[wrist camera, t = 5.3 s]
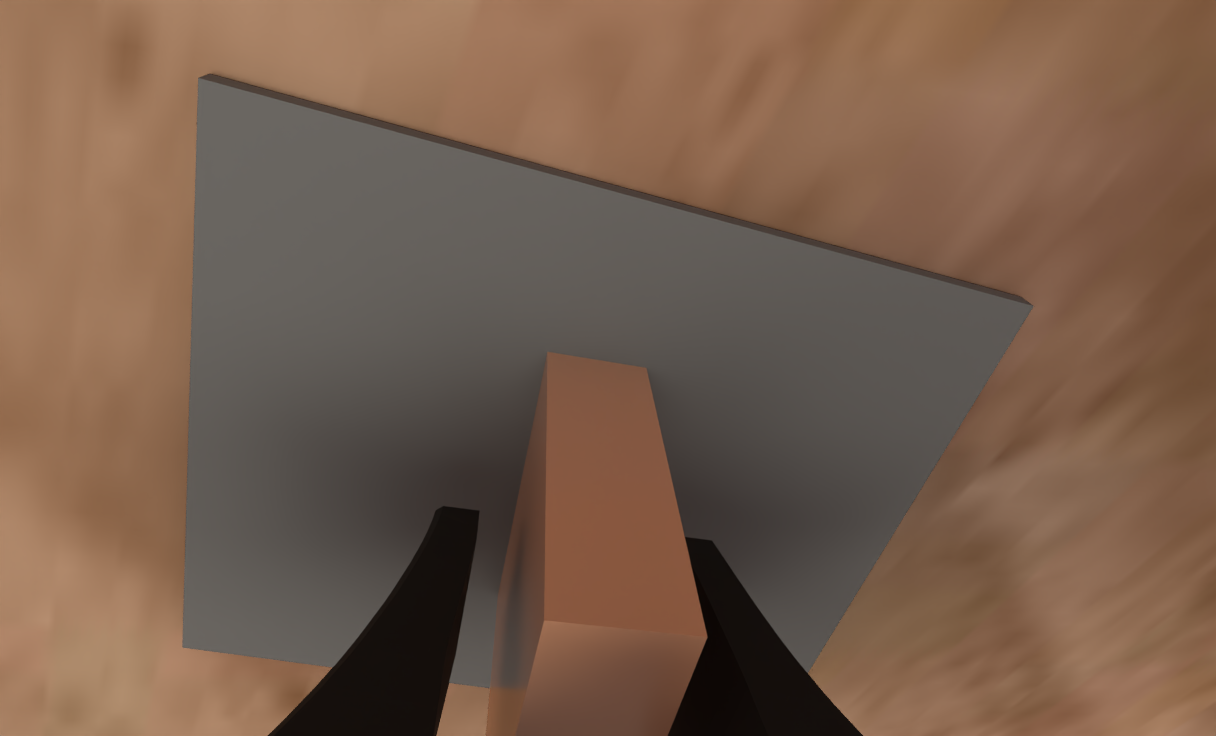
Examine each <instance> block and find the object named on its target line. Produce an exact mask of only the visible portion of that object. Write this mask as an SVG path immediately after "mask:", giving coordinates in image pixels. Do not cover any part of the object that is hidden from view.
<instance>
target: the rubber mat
mask: <svg viewBox="0 0 1216 736" xmlns="http://www.w3.org/2000/svg"><path fill="white" fill-rule="evenodd" d="M1032 308H1033V305H1031V304H1030V303H1029V302H1027V301H1026V300H1025V299H1023V298H1022V297H1019V296H1016V295H1012V294H1008V293H1005V292H1001V291H997V290H994V289H990V288H987V287H983V286H979V285H976V284H972V283H968V282H965V281H961V280H957V279H954V278H950V277H947V276H943V275H939V274H936V273H932V272H928V271H925V270H921V269H917V268H914V267H910V266H907V265H903V264H899V263H896V262H892V261H888V260H885V259H881V258H877V257H874V256H870V255H867V254H863V253H859V252H856V251H852V250H848V249H845V248H841V247H837V246H834V245H830V244H827V243H823V242H819V241H816V240H812V239H808V238H805V237H801V236H797V235H794V234H790V233H787V232H783V231H779V230H776V229H772V228H768V227H765V226H761V225H757V224H754V223H750V222H747V221H743V220H739V219H736V218H732V217H728V216H725V215H721V214H717V213H714V212H710V211H707V210H703V209H699V208H696V207H692V206H688V205H685V204H681V203H677V202H674V201H670V200H667V199H663V198H659V197H656V196H652V195H648V194H645V193H641V192H637V191H634V190H630V189H627V188H623V187H619V186H616V185H612V184H608V183H605V182H601V181H597V180H594V179H590V178H587V177H583V176H579V175H576V174H572V173H568V172H565V171H561V170H557V169H554V168H550V167H547V166H543V165H539V164H536V163H532V162H528V161H525V160H521V159H517V158H514V157H510V156H507V155H503V154H499V153H496V152H492V151H488V150H485V149H481V148H477V147H474V146H470V145H467V144H463V143H459V142H456V141H452V140H448V139H445V138H441V137H437V136H434V135H430V134H427V133H423V132H419V131H416V130H412V129H408V128H405V127H401V126H397V125H394V124H390V123H387V122H383V121H379V120H376V119H372V118H368V117H365V116H361V115H357V114H354V113H350V112H347V111H343V110H339V109H336V108H332V107H328V106H325V105H321V104H317V103H314V102H310V101H307V100H303V99H299V98H296V97H292V96H288V95H285V94H281V93H277V92H274V91H270V90H267V89H263V88H259V87H256V86H252V85H248V84H245V83H241V82H237V81H234V80H230V79H227V78H223V77H219V76H216V75H212V74H208V75H205V76H202V77H199V78H198V107H197V143H196V179H195V215H194V251H193V287H192V323H191V360H190V396H189V432H188V468H187V504H186V540H185V576H184V612H183V648H190V649H198V650H205V651H213V652H220V653H228V654H235V655H243V656H251V657H258V658H266V659H273V660H281V661H288V662H296V663H303V664H311V665H319V666H326V667H334V666H335V664H336V663H337V662H338V661H339V660H340V659H341V657H342V656H343V655H344V654H345V653H346V651H347V650H348V649H349V648H350V646H351V645H352V644H353V643H354V642H355V640H356V639H357V638H358V637H359V635H360V634H361V633H362V631H363V630H364V629H365V627H366V626H367V625H368V623H369V622H370V621H371V619H372V618H373V617H374V615H375V614H376V613H377V611H378V610H379V609H380V607H381V606H382V605H383V603H384V602H385V600H386V599H387V598H388V596H389V595H390V593H391V592H392V590H393V589H394V587H395V586H396V584H397V582H398V581H399V579H400V578H401V576H402V575H403V573H404V572H405V570H406V569H407V567H408V565H409V564H410V562H411V561H412V559H413V557H414V555H415V554H416V552H417V550H418V548H419V547H420V545H421V543H422V541H423V539H424V537H425V535H426V533H427V531H428V529H429V526H430V524H431V522H432V519H433V516H434V513H435V510H437V509H439V508H440V507H442V506H448V507H456V508H464V509H471V510H479V511H480V512H479V522H478V531H477V540H476V546H475V551H474V557H473V562H472V568H471V573H470V579H469V584H468V590H467V595H466V601H465V606H464V612H463V617H462V623H461V628H460V634H459V639H458V645H457V650H456V656H455V660H454V664H453V668H452V672H451V677H450V681H449V683H454V684H462V685H469V686H477V687H485V688H490V681H491V670H492V658H493V646H494V635H495V623H496V611H497V599H498V592H499V587H500V582H501V577H502V573H503V568H504V563H505V558H506V553H507V548H508V543H509V538H510V533H511V528H512V524H513V519H514V514H515V509H516V504H517V499H518V494H519V489H520V484H521V479H522V474H523V470H524V465H525V460H526V455H527V450H528V445H529V440H530V435H531V430H532V425H533V421H534V416H535V411H536V406H537V401H538V396H539V391H540V386H541V381H542V376H543V372H544V367H545V362H546V357H547V352H552V353H558V354H564V355H570V356H577V357H583V358H589V359H595V360H601V361H607V362H613V363H620V364H626V365H632V366H638V367H644V368H647V373H648V377H649V382H650V386H651V390H652V395H653V399H654V404H655V408H656V412H657V417H658V421H659V426H660V430H661V434H662V439H663V443H664V448H665V452H666V457H667V461H668V465H669V470H670V474H671V479H672V483H673V487H674V492H675V496H676V501H677V505H678V509H679V514H680V518H681V523H682V527H683V531H684V536H685V537H690V538H698V539H705V540H712V541H713V543H714V544H715V546H716V547H717V548H718V550H719V551H720V553H721V554H722V556H723V557H724V559H725V560H726V562H727V563H728V565H729V566H730V568H731V569H732V571H733V572H734V574H735V575H736V576H737V578H738V579H739V581H740V582H741V584H742V585H743V587H744V588H745V590H746V591H747V593H748V594H749V596H750V597H751V598H752V600H753V601H754V603H755V604H756V606H757V607H758V609H759V610H760V611H761V613H762V614H763V616H764V617H765V618H766V620H767V621H768V623H769V624H770V625H771V627H772V628H773V629H774V631H775V632H776V633H777V635H778V636H779V638H780V639H781V640H782V642H783V643H784V644H785V646H786V647H787V648H788V649H789V651H790V652H791V653H792V655H793V656H794V657H795V658H796V660H797V661H798V662H799V663H800V665H801V666H802V667H803V668H804V670H805V671H806V672H807V673H808V672H809V670H810V669H811V667H812V665H813V664H814V662H815V660H816V659H817V657H818V656H819V654H820V652H821V651H822V649H823V647H824V646H825V644H826V643H827V641H828V639H829V638H830V636H831V634H832V633H833V631H834V630H835V628H836V626H837V625H838V623H839V621H840V620H841V618H842V617H843V615H844V613H845V612H846V610H847V608H848V607H849V605H850V604H851V602H852V600H853V599H854V597H855V595H856V594H857V592H858V591H859V589H860V587H861V586H862V584H863V582H864V581H865V579H866V578H867V576H868V574H869V573H870V571H871V569H872V568H873V566H874V565H875V563H876V561H877V560H878V558H879V556H880V555H881V553H882V552H883V550H884V548H885V547H886V545H887V543H888V542H889V540H890V539H891V537H892V535H893V534H894V532H895V530H896V529H897V527H898V526H899V524H900V522H901V521H902V519H903V517H904V516H905V514H906V513H907V511H908V509H909V508H910V506H911V504H912V503H913V501H914V500H915V498H916V496H917V495H918V493H919V491H920V490H921V488H922V487H923V485H924V483H925V482H926V480H927V478H928V477H929V475H930V474H931V472H932V470H933V469H934V467H935V465H936V464H937V462H938V461H939V459H940V457H941V456H942V454H943V452H944V451H945V449H946V448H947V446H948V444H949V443H950V441H951V439H952V438H953V436H954V435H955V433H956V431H957V430H958V428H959V427H960V425H961V423H962V422H963V420H964V418H965V417H966V415H967V414H968V412H969V410H970V409H971V407H972V405H973V404H974V402H975V401H976V399H977V397H978V396H979V394H980V392H981V391H982V389H983V388H984V386H985V384H986V383H987V381H988V379H989V378H990V376H991V375H992V373H993V371H994V370H995V368H996V366H997V365H998V363H999V362H1000V360H1001V358H1002V357H1003V355H1004V353H1005V352H1006V350H1007V349H1008V347H1009V345H1010V344H1011V342H1012V340H1013V339H1014V337H1015V336H1016V334H1017V332H1018V331H1019V329H1020V327H1021V326H1022V324H1023V323H1024V321H1025V319H1026V318H1027V316H1028V314H1029V313H1030V311H1031V310H1032Z"/></svg>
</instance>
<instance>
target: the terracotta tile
mask: <svg viewBox="0 0 1216 736" xmlns="http://www.w3.org/2000/svg"><path fill="white" fill-rule="evenodd" d="M706 640H707V633H706V629H705V624H704V620H703V615H702V611H701V606H700V602H699V598H698V593H697V589H696V584H695V580H694V576H693V571H692V567H691V562H690V558H689V554H688V549H687V545H686V540H685V536H684V531H683V527H682V523H681V518H680V514H679V509H678V505H677V501H676V496H675V492H674V487H673V483H672V479H671V474H670V470H669V465H668V461H667V457H666V452H665V448H664V443H663V439H662V434H661V430H660V426H659V421H658V417H657V412H656V408H655V404H654V399H653V395H652V390H651V386H650V382H649V377H648V373H647V368H644V367H638V366H632V365H626V364H620V363H613V362H607V361H601V360H595V359H589V358H583V357H577V356H570V355H564V354H558V353H552V352H547V357H546V362H545V367H544V372H543V376H542V381H541V386H540V391H539V396H538V401H537V406H536V411H535V416H534V421H533V425H532V430H531V435H530V440H529V445H528V450H527V455H526V460H525V465H524V470H523V474H522V479H521V484H520V489H519V494H518V499H517V504H516V509H515V514H514V519H513V524H512V528H511V533H510V538H509V543H508V548H507V553H506V558H505V563H504V568H503V573H502V577H501V582H500V587H499V592H498V599H497V611H496V623H495V635H494V646H493V658H492V670H491V681H490V693H489V705H488V716H487V728H486V736H668V733H669V731H670V728H671V726H672V724H673V721H674V719H675V716H676V714H677V711H678V709H679V706H680V704H681V701H682V699H683V696H684V694H685V691H686V689H687V686H688V684H689V682H690V679H691V677H692V674H693V672H694V669H695V667H696V664H697V662H698V659H699V657H700V654H701V652H702V649H703V647H704V644H705V642H706Z"/></svg>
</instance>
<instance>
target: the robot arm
mask: <svg viewBox="0 0 1216 736" xmlns="http://www.w3.org/2000/svg"><path fill="white" fill-rule="evenodd" d="M479 512H480V511H479V510H471V509H464V508H456V507H448V506H442V507H440V508H439V509H437V510H435V513H434V516H433V519H432V522H431V524H430V526H429V529H428V531H427V533H426V535H425V537H424V539H423V541H422V543H421V545H420V547H419V548H418V550H417V552H416V554H415V555H414V557H413V559H412V561H411V562H410V564H409V565H408V567H407V569H406V570H405V572H404V573H403V575H402V576H401V578H400V579H399V581H398V582H397V584H396V586H395V587H394V589H393V590H392V592H391V593H390V595H389V596H388V598H387V599H386V600H385V602H384V603H383V605H382V606H381V607H380V609H379V610H378V611H377V613H376V614H375V615H374V617H373V618H372V619H371V621H370V622H369V623H368V625H367V626H366V627H365V629H364V630H363V631H362V633H361V634H360V635H359V637H358V638H357V639H356V640H355V642H354V643H353V644H352V645H351V646H350V648H349V649H348V650H347V651H346V653H345V654H344V655H343V656H342V657H341V659H340V660H339V661H338V662H337V663H336V664H335V666H334V667H333V668H332V669H331V670H330V671H329V672H328V673H327V675H326V676H325V677H324V678H323V679H322V680H321V681H320V683H319V684H318V685H317V686H316V687H315V688H314V689H313V690H312V691H311V692H310V693H309V694H308V695H307V696H306V697H305V698H304V699H303V701H302V702H301V703H300V704H299V705H298V706H297V707H296V708H295V709H294V710H293V711H292V712H291V713H290V714H289V715H288V716H287V717H286V718H285V719H284V720H283V721H282V722H281V723H280V724H279V725H278V726H277V727H276V728H275V729H274V730H273V731H272V732H271V733H270V734H269V735H268V736H436V735H437V730H438V726H439V722H440V718H441V714H442V710H443V706H444V702H445V697H446V693H447V689H448V685H449V681H450V677H451V672H452V668H453V664H454V660H455V656H456V650H457V645H458V639H459V634H460V628H461V623H462V617H463V612H464V606H465V601H466V595H467V590H468V584H469V579H470V573H471V568H472V562H473V557H474V551H475V546H476V540H477V531H478V522H479ZM685 540H686V545H687V549H688V554H689V558H690V562H691V567H692V571H693V576H694V580H695V584H696V589H697V593H698V598H699V602H700V606H701V611H702V615H703V620H704V624H705V629H706V633H707V640H706V642H705V644H704V647H703V649H702V652H701V654H700V657H699V659H698V662H697V664H696V667H695V669H694V672H693V674H692V677H691V679H690V682H689V684H688V686H687V689H686V691H685V694H684V696H683V699H682V701H681V704H680V706H679V709H678V711H677V714H676V716H675V719H674V721H673V724H672V726H671V728H670V731H669V733H668V736H863V735H862V734H861V733H860V732H859V731H858V730H857V729H856V728H855V727H854V725H853V724H852V723H851V722H850V721H849V720H848V719H847V718H846V717H845V716H844V715H843V714H842V713H841V712H840V710H839V709H838V708H837V707H836V706H835V705H834V704H833V703H832V702H831V701H830V699H829V698H828V697H827V696H826V695H825V694H824V693H823V691H822V690H821V689H820V688H819V687H818V685H817V684H816V683H815V682H814V681H813V679H812V678H811V677H810V676H809V674H808V673H807V672H806V671H805V670H804V668H803V667H802V666H801V665H800V663H799V662H798V661H797V660H796V658H795V657H794V656H793V655H792V653H791V652H790V651H789V649H788V648H787V647H786V646H785V644H784V643H783V642H782V640H781V639H780V638H779V636H778V635H777V633H776V632H775V631H774V629H773V628H772V627H771V625H770V624H769V623H768V621H767V620H766V618H765V617H764V616H763V614H762V613H761V611H760V610H759V609H758V607H757V606H756V604H755V603H754V601H753V600H752V598H751V597H750V596H749V594H748V593H747V591H746V590H745V588H744V587H743V585H742V584H741V582H740V581H739V579H738V578H737V576H736V575H735V574H734V572H733V571H732V569H731V568H730V566H729V565H728V563H727V562H726V560H725V559H724V557H723V556H722V554H721V553H720V551H719V550H718V548H717V547H716V546H715V544H714V543H713V541H712V540H705V539H698V538H690V537H685Z"/></svg>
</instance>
